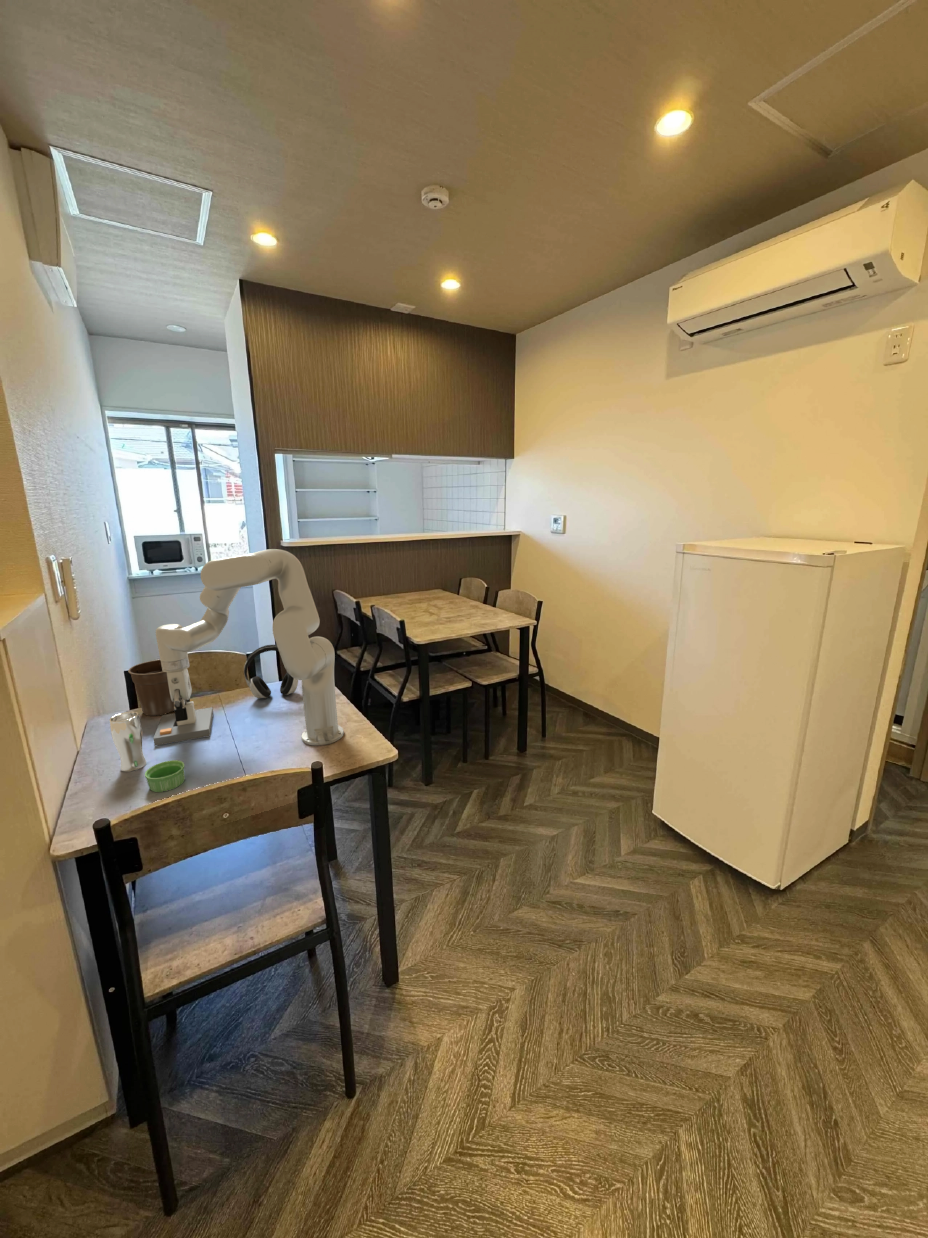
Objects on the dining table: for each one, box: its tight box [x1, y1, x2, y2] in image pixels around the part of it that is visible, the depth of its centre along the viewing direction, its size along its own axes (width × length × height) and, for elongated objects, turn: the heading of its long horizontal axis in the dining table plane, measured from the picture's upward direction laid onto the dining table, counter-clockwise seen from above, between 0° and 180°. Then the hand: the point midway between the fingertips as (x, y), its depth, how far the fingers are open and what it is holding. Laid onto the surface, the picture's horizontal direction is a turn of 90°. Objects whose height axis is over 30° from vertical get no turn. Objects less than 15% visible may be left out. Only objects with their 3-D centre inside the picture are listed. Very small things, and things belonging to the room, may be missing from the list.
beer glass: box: [109, 711, 147, 773], centre depth 138 cm, size 7×7×15 cm
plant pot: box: [127, 659, 174, 717], centre depth 175 cm, size 16×16×16 cm
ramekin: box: [144, 759, 186, 793], centre depth 130 cm, size 9×9×4 cm
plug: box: [177, 700, 196, 726], centre depth 161 cm, size 4×5×10 cm
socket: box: [153, 706, 214, 746], centre depth 161 cm, size 18×15×3 cm
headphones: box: [243, 644, 299, 699], centre depth 184 cm, size 19×8×20 cm, turn 112°
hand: (183, 714), depth 160 cm, fingers open, 9 cm apart
